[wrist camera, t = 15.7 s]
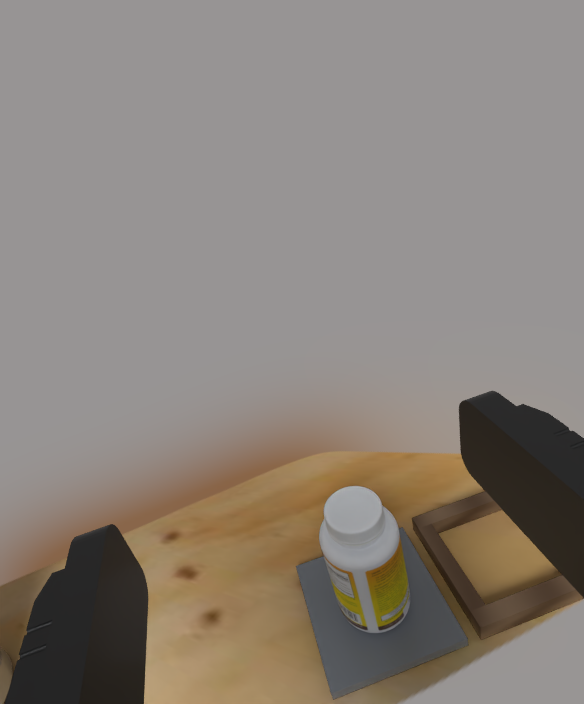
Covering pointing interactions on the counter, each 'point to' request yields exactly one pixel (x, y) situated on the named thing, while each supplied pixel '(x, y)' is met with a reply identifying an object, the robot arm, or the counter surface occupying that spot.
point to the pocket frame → (480, 615)
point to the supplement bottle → (365, 559)
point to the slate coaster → (378, 648)
